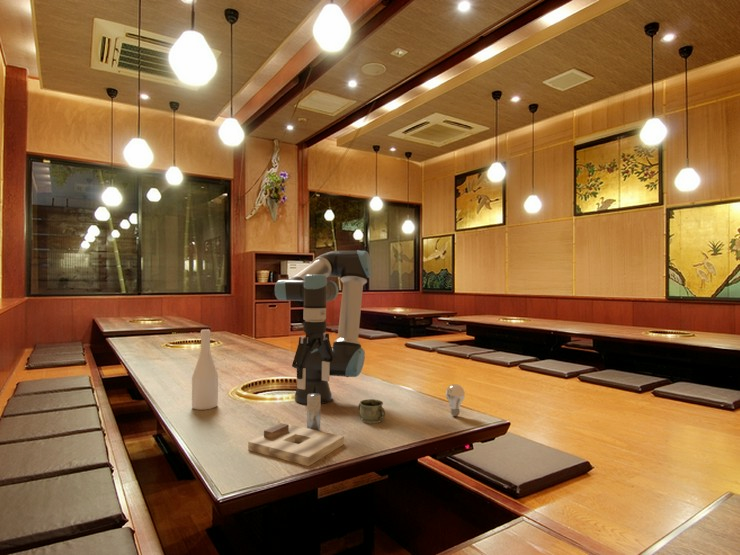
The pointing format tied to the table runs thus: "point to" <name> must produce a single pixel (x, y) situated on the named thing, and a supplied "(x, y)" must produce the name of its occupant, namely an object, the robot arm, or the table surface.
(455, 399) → the light bulb
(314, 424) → the shiny metal cylinder
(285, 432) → the jig
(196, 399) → the wine bottle
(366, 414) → the vessel
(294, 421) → the table surface
